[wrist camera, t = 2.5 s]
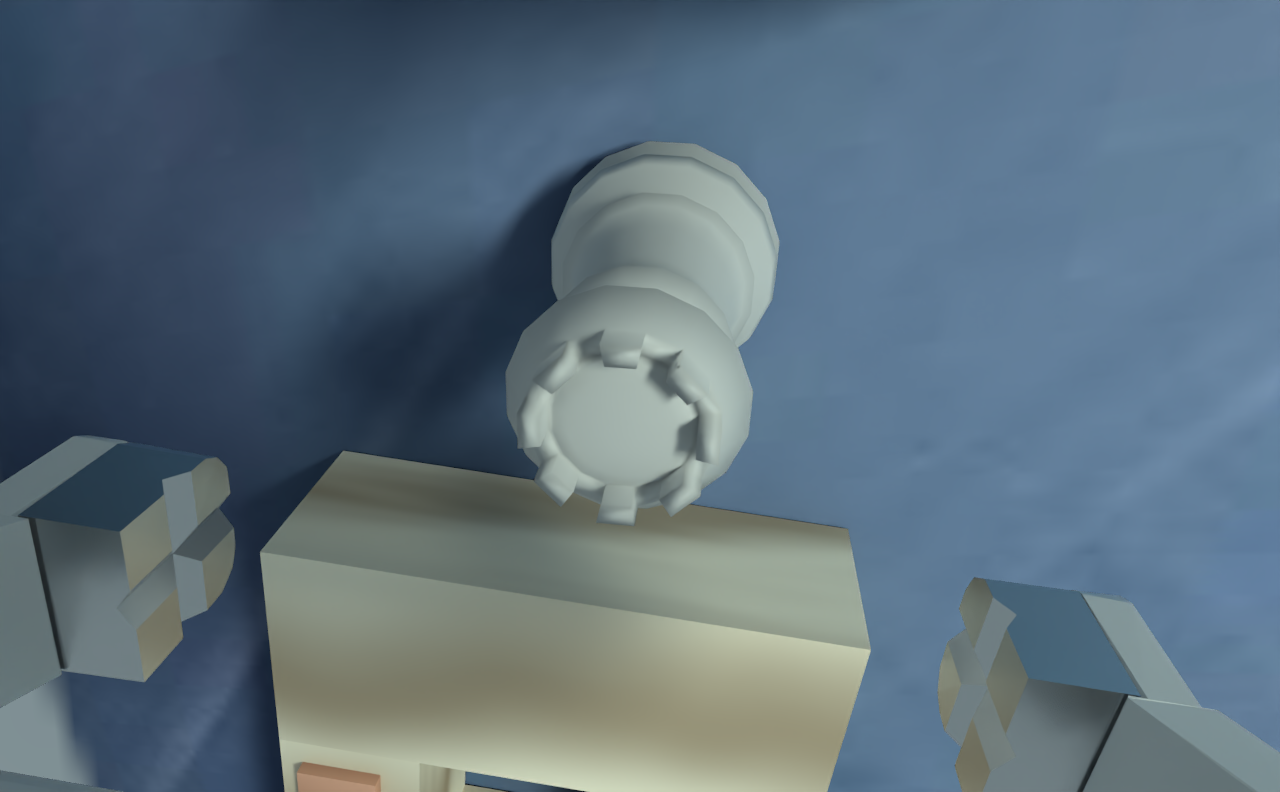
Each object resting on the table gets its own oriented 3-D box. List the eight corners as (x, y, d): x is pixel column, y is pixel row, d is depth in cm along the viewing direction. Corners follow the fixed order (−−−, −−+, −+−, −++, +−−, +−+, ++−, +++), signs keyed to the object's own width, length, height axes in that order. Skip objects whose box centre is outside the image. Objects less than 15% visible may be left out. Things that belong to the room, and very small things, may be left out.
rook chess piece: (541, 320, 19) (416, 538, 11) (583, 109, 17) (464, 216, 9) (742, 372, 19) (743, 623, 12) (808, 169, 17) (859, 320, 10)
